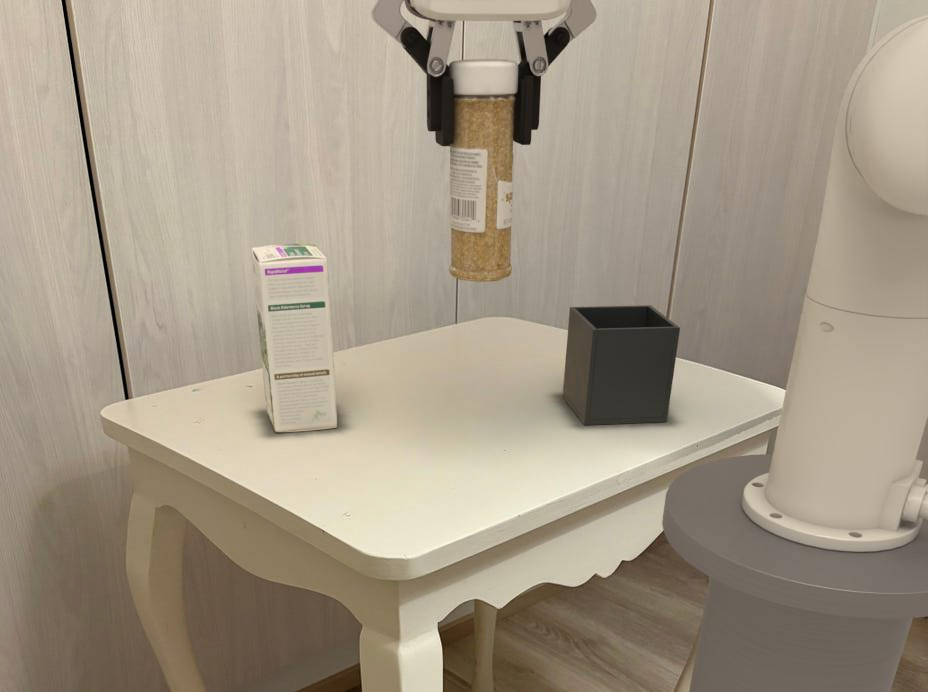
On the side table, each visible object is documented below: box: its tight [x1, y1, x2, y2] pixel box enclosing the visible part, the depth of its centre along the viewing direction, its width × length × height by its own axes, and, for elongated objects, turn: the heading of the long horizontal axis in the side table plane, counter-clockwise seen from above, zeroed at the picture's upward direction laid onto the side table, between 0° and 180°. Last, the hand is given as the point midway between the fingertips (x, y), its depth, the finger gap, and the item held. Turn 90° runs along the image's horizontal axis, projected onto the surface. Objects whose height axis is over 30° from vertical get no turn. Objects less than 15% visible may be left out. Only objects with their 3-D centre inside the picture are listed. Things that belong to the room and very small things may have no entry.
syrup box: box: [251, 243, 338, 433], centre depth 85 cm, size 6×6×14 cm
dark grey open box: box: [562, 304, 681, 426], centre depth 91 cm, size 8×8×8 cm
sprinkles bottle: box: [448, 58, 519, 283], centre depth 68 cm, size 5×5×13 cm
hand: (482, 140), depth 67 cm, fingers closed on sprinkles bottle, 4 cm apart
